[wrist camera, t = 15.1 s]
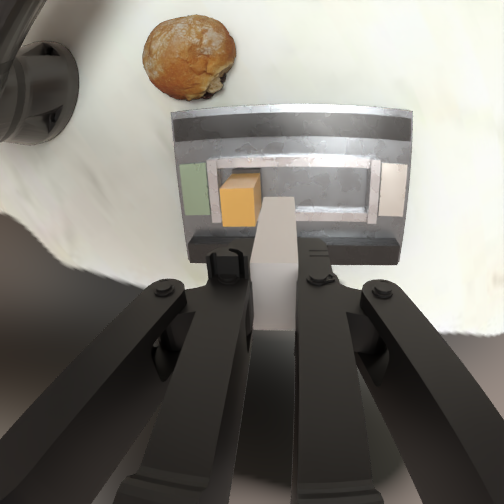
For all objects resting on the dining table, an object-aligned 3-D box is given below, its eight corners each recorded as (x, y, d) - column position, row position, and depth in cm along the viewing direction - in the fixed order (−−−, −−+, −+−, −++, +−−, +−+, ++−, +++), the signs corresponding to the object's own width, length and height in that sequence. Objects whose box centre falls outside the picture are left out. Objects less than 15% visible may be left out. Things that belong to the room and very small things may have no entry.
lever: (235, 207, 36) (223, 230, 30) (232, 168, 34) (219, 184, 28) (262, 206, 35) (255, 230, 29) (260, 167, 33) (253, 183, 27)
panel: (193, 252, 42) (183, 268, 38) (177, 111, 34) (163, 113, 30) (394, 254, 38) (403, 271, 34) (406, 110, 30) (420, 111, 26)
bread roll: (237, 29, 32) (220, -12, 24) (245, 98, 32) (226, 61, 24) (161, 49, 33) (132, 15, 26) (161, 117, 33) (125, 89, 26)
